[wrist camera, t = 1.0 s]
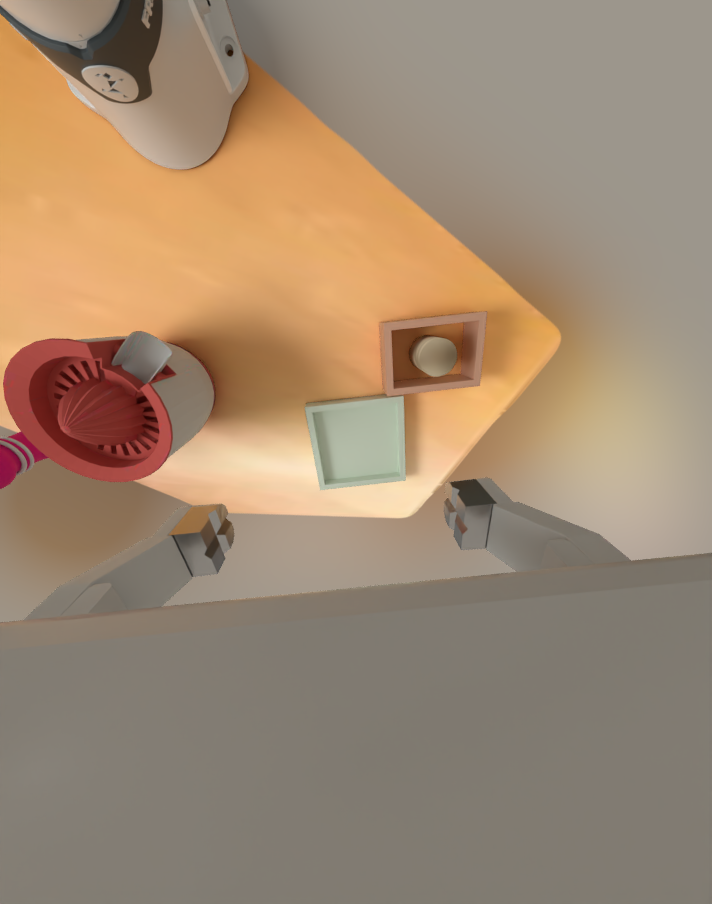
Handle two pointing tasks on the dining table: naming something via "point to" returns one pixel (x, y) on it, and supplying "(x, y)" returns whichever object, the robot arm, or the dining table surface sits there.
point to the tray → (358, 440)
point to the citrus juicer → (108, 402)
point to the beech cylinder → (433, 355)
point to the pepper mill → (16, 457)
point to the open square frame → (467, 378)
